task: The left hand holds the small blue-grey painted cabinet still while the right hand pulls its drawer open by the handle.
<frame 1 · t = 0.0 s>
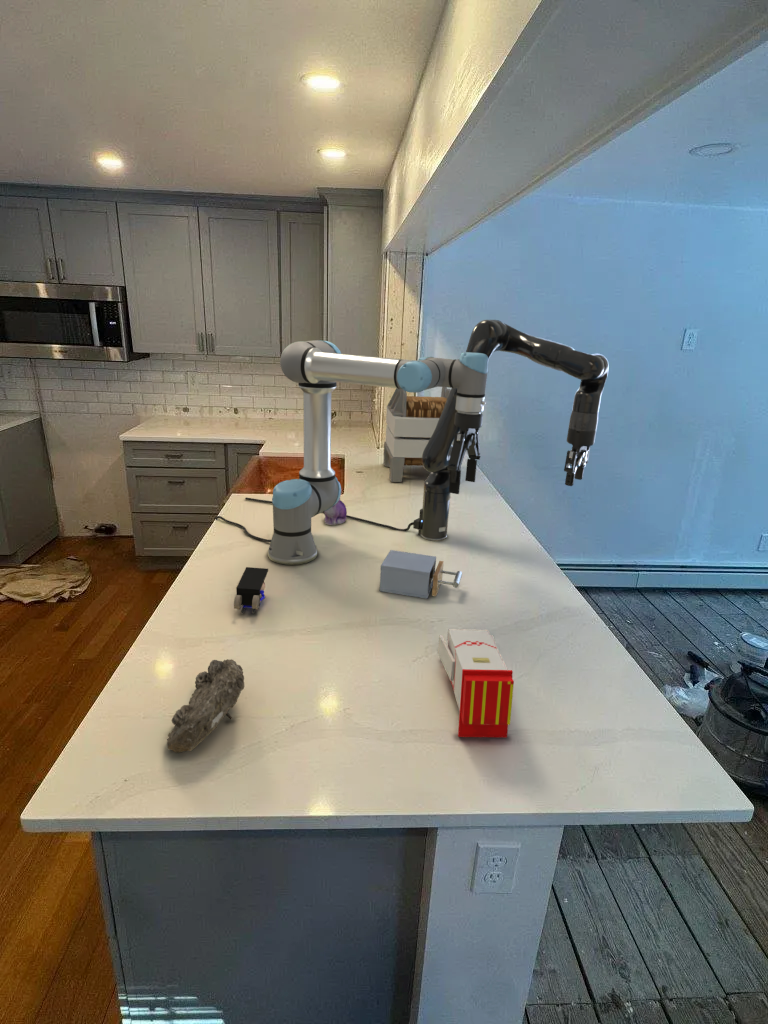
left hand: (462, 487, 161), 28 cm above the counter, tool pointing down, fingers open, 13 cm apart
right hand: (573, 482, 165), 29 cm above the counter, tool pointing down, fingers open, 8 cm apart
fossil: (212, 717, 108), on the counter
cabinet: (407, 586, 163), on the counter
figurine: (335, 521, 209), on the counter
toy: (469, 691, 119), on the counter
black wheeled rover: (252, 604, 149), on the counter
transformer: (419, 473, 275), on the counter
drawer: (428, 576, 160), point 4 cm above the counter, slide at 1.1 cm
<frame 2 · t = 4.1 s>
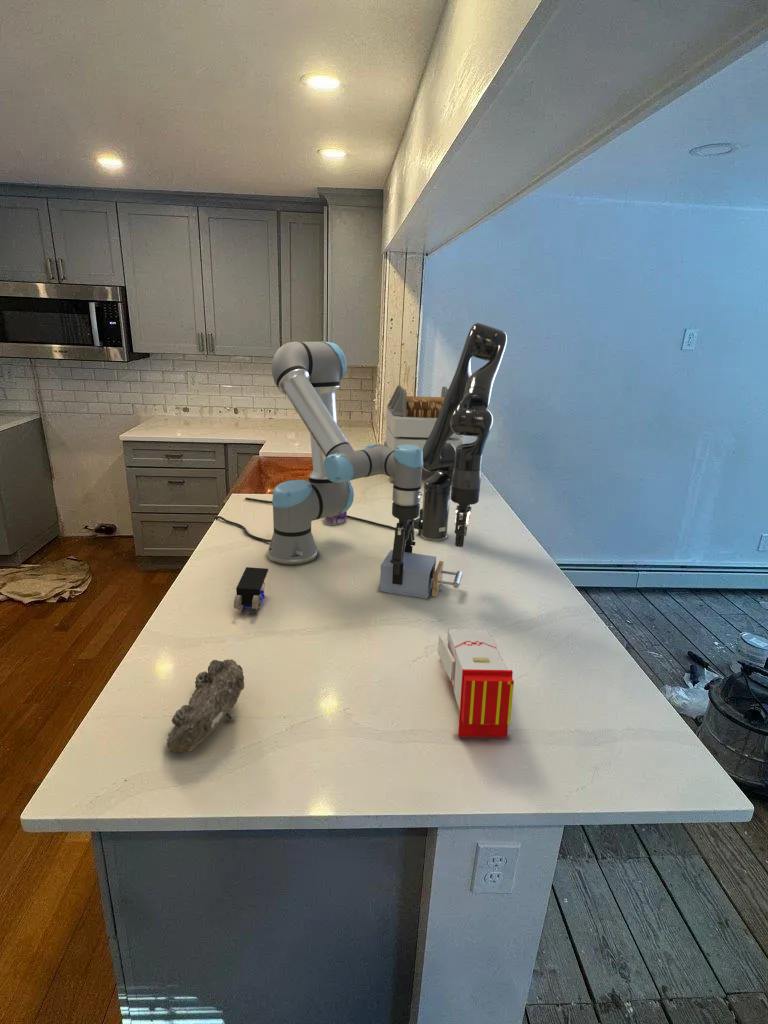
left hand: (402, 574, 162), 3 cm above the counter, tool pointing down, fingers closed on cabinet, 11 cm apart
right hand: (460, 540, 155), 16 cm above the counter, tool pointing down, fingers open, 8 cm apart
cabinet: (407, 586, 163), on the counter, touching left hand
everything else where it was.
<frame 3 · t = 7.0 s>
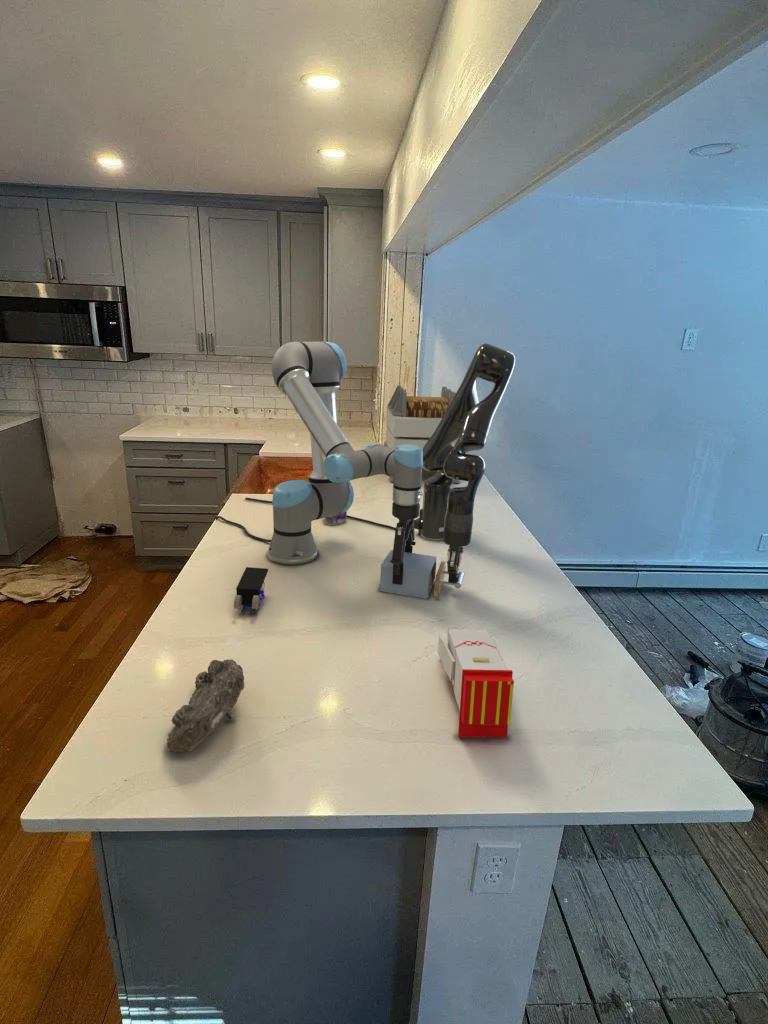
left hand: (402, 574, 162), 3 cm above the counter, tool pointing down, fingers closed on cabinet, 11 cm apart
right hand: (452, 583, 159), 3 cm above the counter, tool pointing down, fingers closed
cabinet: (407, 586, 163), on the counter, touching left hand
drawer: (430, 576, 160), point 4 cm above the counter, slide at 1.6 cm, touching right hand
everything else where it was.
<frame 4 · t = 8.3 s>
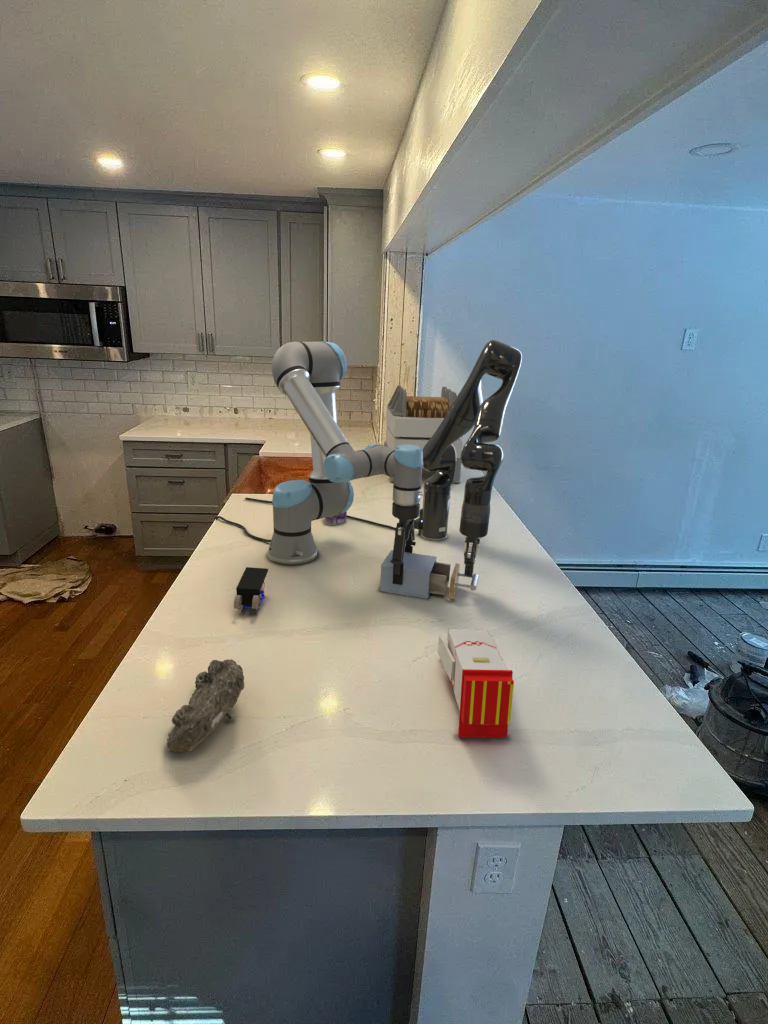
left hand: (402, 574, 162), 3 cm above the counter, tool pointing down, fingers closed on cabinet, 11 cm apart
right hand: (468, 575, 157), 6 cm above the counter, tool pointing down, fingers closed
cabinet: (407, 586, 163), on the counter, touching left hand
drawer: (444, 579, 159), point 4 cm above the counter, slide at 5.7 cm
everything else where it was.
when the left hand's fingers open (3 cm above the counter, at t = 9.8 s): cabinet stays where it is, on the counter.
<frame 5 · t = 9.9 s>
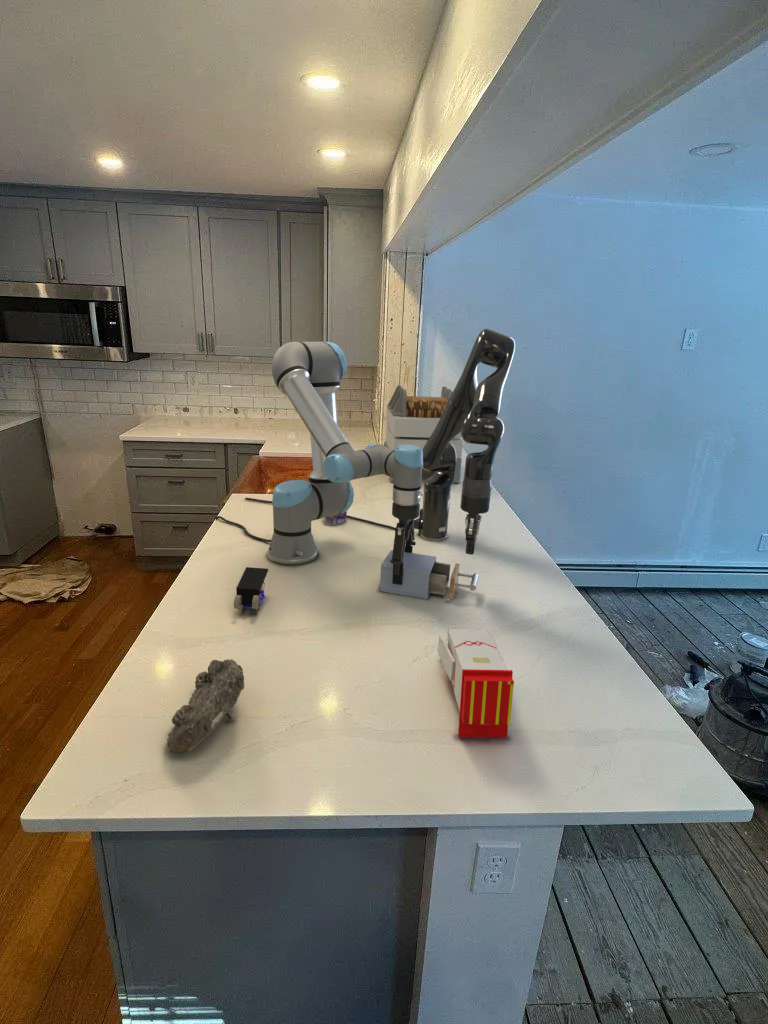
left hand: (402, 574, 162), 3 cm above the counter, tool pointing down, fingers open, 11 cm apart
right hand: (469, 553, 154), 13 cm above the counter, tool pointing down, fingers closed
cabinet: (407, 586, 163), on the counter
everything else where it was.
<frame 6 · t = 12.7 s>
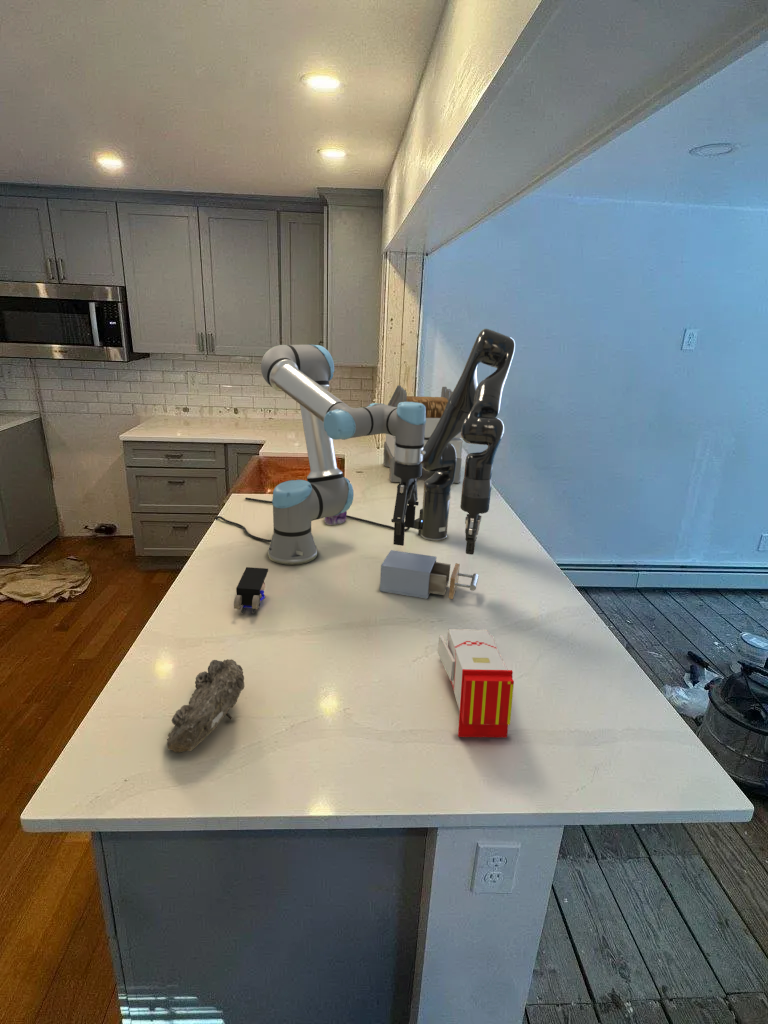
left hand: (404, 535, 158), 15 cm above the counter, tool pointing down, fingers open, 13 cm apart
right hand: (469, 553, 154), 13 cm above the counter, tool pointing down, fingers closed
nothing on the counter moved.
at the end: drawer slide at 5.7 cm; cabinet tilted 0°; cabinet never tilted more than 1° during the clip; cabinet moved 0.1 cm from its start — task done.
